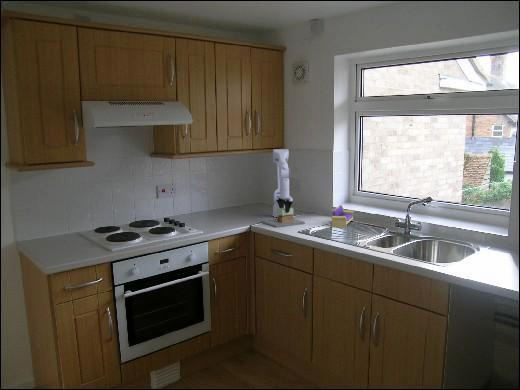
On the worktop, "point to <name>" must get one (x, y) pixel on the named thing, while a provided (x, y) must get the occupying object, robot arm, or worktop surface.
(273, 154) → the robot arm
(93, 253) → the worktop surface
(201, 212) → the worktop surface
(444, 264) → the worktop surface
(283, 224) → the baseplate
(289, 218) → the walnut block
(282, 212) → the sage block
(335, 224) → the toy sofa
